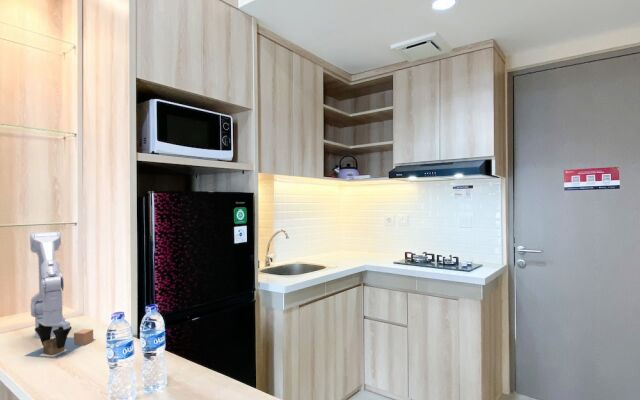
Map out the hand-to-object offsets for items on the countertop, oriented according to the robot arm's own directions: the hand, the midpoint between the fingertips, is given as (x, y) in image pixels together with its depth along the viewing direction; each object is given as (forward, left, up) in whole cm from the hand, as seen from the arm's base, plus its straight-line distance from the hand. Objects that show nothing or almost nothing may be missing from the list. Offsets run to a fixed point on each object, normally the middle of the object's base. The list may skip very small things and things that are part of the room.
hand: (53, 346), depth 137 cm
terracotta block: (-10, +4, -2) cm, 11 cm away
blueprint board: (-5, -1, -3) cm, 6 cm away
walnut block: (0, 0, -2) cm, 2 cm away
